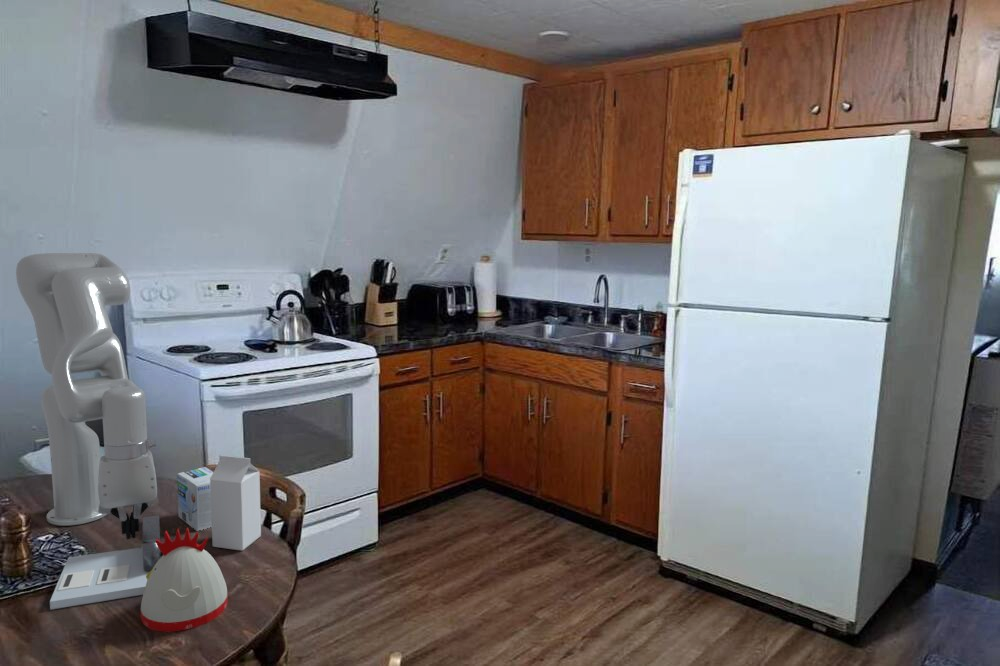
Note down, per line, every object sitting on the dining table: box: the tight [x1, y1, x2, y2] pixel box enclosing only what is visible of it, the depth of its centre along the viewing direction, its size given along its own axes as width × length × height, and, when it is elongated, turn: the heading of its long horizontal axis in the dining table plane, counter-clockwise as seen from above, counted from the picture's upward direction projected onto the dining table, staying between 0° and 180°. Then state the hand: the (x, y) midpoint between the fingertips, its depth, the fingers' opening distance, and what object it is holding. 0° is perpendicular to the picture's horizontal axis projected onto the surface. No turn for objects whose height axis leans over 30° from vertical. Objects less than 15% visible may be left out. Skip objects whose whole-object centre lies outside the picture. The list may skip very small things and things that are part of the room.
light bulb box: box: [176, 466, 214, 532], centre depth 154 cm, size 11×7×11 cm, turn 47°
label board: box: [49, 546, 149, 610], centre depth 128 cm, size 17×15×2 cm
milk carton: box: [210, 454, 262, 551], centre depth 143 cm, size 7×7×19 cm
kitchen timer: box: [140, 527, 228, 633], centre depth 118 cm, size 14×14×15 cm
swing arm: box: [141, 514, 162, 572], centre depth 135 cm, size 3×16×5 cm, turn 27°
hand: (130, 535), depth 137 cm, fingers closed
